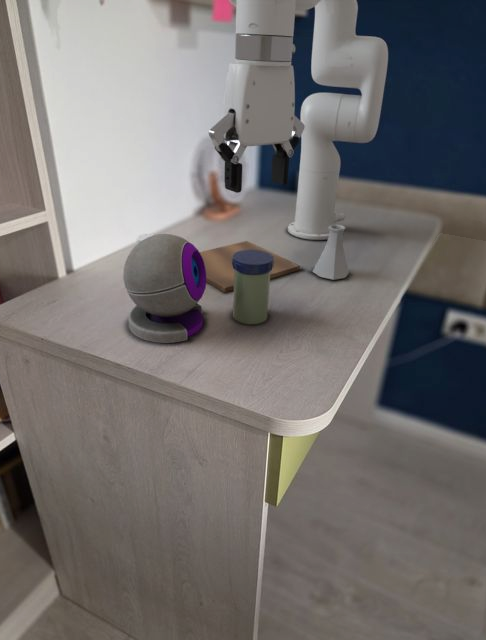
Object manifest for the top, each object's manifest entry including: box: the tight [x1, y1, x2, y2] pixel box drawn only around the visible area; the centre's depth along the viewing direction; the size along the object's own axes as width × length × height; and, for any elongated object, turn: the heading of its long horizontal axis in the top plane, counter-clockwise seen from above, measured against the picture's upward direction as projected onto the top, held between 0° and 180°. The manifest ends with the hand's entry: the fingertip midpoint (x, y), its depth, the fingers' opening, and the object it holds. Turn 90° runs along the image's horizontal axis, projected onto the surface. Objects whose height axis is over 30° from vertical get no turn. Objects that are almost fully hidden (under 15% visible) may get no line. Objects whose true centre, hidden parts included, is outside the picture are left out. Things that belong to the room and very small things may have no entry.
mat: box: [199, 240, 301, 293], centre depth 105 cm, size 20×18×1 cm
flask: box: [312, 223, 350, 281], centre depth 101 cm, size 7×7×10 cm
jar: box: [232, 269, 271, 325], centre depth 84 cm, size 6×6×10 cm
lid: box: [232, 250, 274, 275], centre depth 81 cm, size 7×7×2 cm
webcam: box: [122, 233, 207, 344], centre depth 79 cm, size 13×13×15 cm
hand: (256, 186), depth 75 cm, fingers open, 8 cm apart
